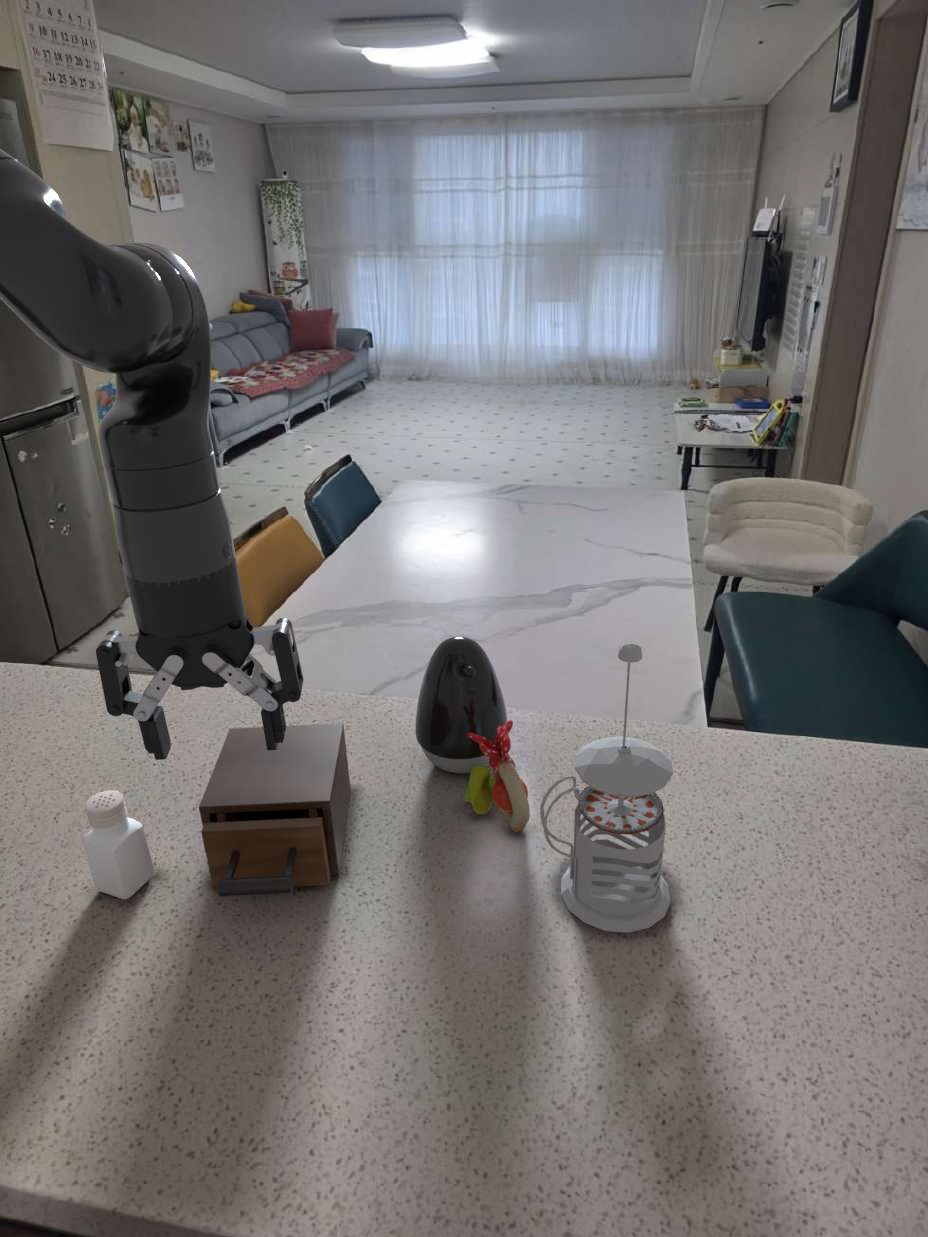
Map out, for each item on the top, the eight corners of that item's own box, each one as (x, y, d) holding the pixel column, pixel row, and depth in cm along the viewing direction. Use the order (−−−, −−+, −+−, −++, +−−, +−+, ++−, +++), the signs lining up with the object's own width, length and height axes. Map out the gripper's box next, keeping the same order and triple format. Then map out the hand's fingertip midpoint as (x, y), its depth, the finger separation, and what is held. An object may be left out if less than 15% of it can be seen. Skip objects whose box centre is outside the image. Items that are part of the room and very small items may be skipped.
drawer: (322, 927, 70) (313, 865, 67) (199, 933, 70) (185, 871, 67) (341, 804, 85) (335, 749, 82) (240, 808, 84) (229, 754, 81)
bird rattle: (544, 835, 84) (504, 763, 89) (570, 777, 76) (525, 702, 81) (490, 855, 82) (452, 780, 87) (511, 798, 73) (468, 719, 79)
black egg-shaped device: (427, 795, 87) (419, 669, 80) (410, 741, 96) (402, 624, 89) (520, 779, 89) (520, 655, 82) (494, 727, 98) (492, 612, 91)
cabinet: (339, 875, 77) (329, 801, 73) (214, 881, 76) (198, 807, 73) (350, 790, 88) (343, 723, 84) (242, 795, 88) (229, 728, 84)
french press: (685, 928, 70) (715, 671, 59) (549, 939, 69) (554, 681, 58) (653, 849, 79) (674, 612, 68) (532, 857, 78) (534, 620, 67)
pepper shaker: (125, 863, 79) (103, 783, 75) (158, 874, 78) (137, 792, 73) (93, 892, 76) (69, 809, 72) (127, 904, 74) (104, 820, 70)
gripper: (288, 532, 61) (313, 716, 68) (92, 545, 60) (139, 730, 68) (276, 570, 55) (306, 770, 62) (56, 585, 54) (112, 786, 61)
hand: (218, 749), depth 65 cm, fingers open, 8 cm apart
